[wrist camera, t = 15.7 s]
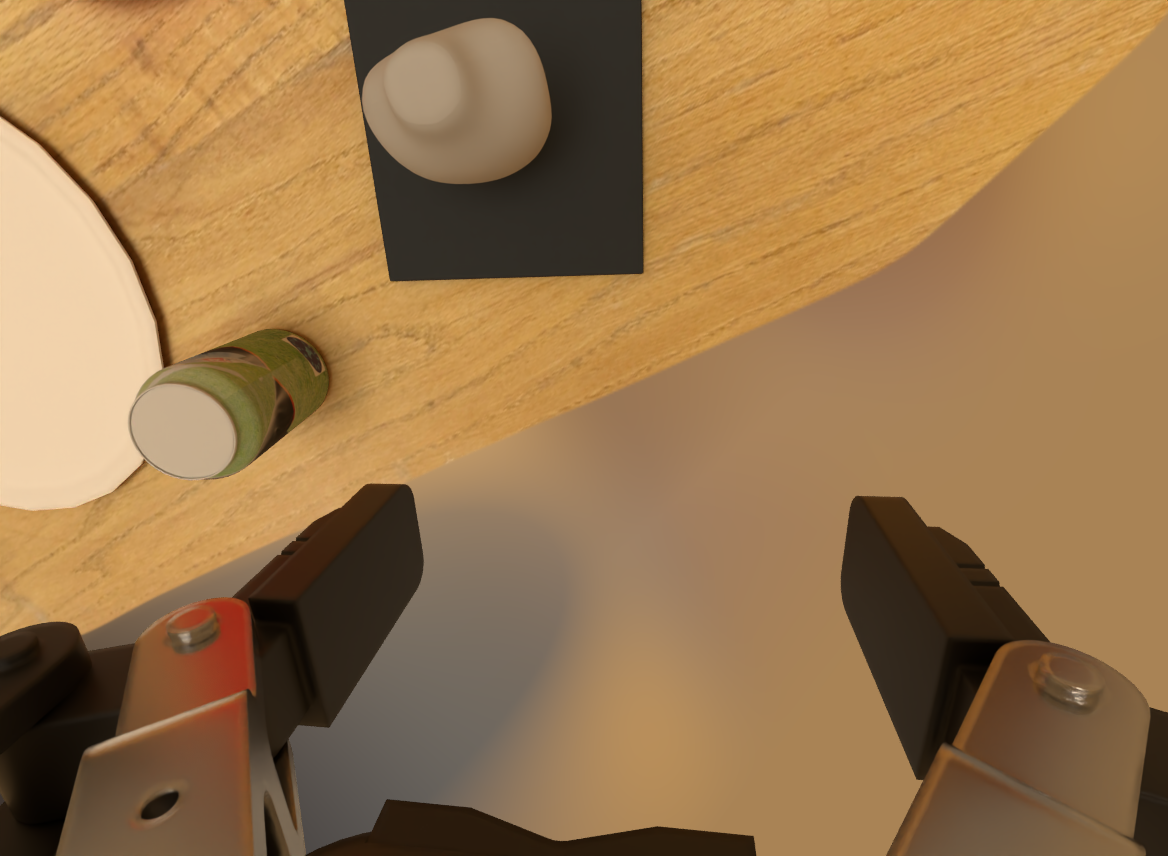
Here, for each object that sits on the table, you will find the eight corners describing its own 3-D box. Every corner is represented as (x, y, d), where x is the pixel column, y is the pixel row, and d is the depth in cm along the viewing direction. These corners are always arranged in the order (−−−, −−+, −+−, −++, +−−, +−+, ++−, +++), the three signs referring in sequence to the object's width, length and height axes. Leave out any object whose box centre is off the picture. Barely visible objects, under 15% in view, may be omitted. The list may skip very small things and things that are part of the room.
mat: (641, -47, 29) (640, -53, 28) (643, 271, 34) (643, 273, 34) (347, -19, 30) (339, -24, 30) (394, 279, 36) (389, 281, 35)
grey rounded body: (459, 201, 33) (362, 210, 22) (422, 98, 31) (296, 52, 20) (587, 155, 32) (550, 141, 21) (555, 44, 30) (496, -37, 19)
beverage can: (229, 348, 39) (61, 413, 28) (315, 300, 37) (172, 350, 26) (285, 429, 41) (148, 520, 30) (370, 388, 39) (258, 468, 28)
